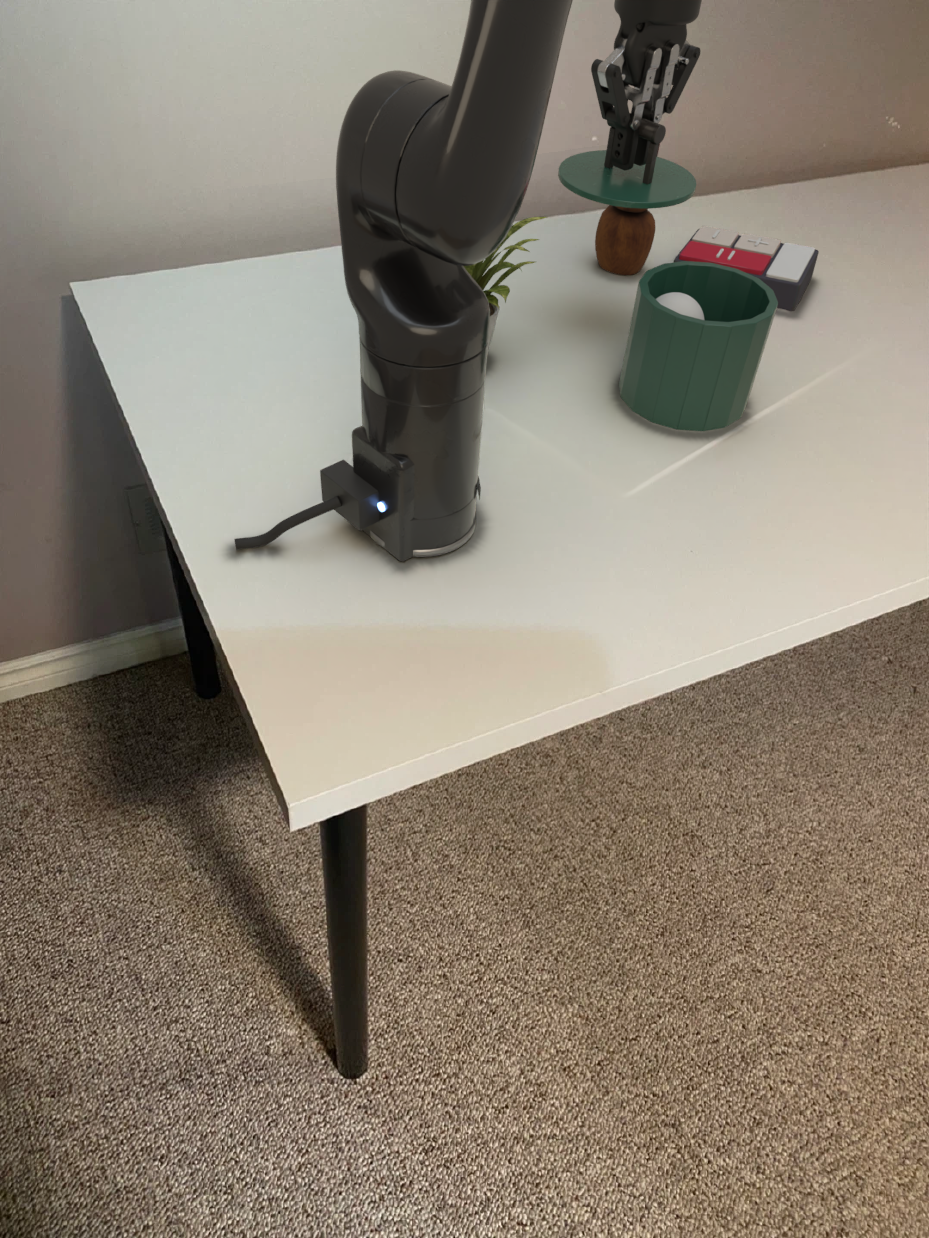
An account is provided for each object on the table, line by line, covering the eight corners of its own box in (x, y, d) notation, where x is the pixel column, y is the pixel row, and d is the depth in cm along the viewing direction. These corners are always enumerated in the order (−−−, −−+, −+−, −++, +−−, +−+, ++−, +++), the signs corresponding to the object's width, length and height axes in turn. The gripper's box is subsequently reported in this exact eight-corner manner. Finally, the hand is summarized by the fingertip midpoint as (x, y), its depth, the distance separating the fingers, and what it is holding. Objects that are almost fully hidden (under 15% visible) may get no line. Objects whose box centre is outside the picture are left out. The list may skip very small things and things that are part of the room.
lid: (633, 227, 86) (647, 152, 81) (528, 180, 92) (536, 109, 88) (721, 194, 92) (738, 124, 88) (618, 153, 99) (629, 85, 94)
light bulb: (706, 403, 90) (703, 305, 84) (645, 408, 92) (637, 312, 85) (706, 374, 94) (703, 278, 88) (648, 379, 96) (641, 285, 89)
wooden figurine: (653, 270, 114) (680, 140, 103) (633, 287, 110) (659, 154, 99) (604, 255, 116) (625, 126, 105) (583, 271, 112) (603, 140, 102)
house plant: (568, 366, 97) (591, 208, 85) (479, 417, 89) (491, 251, 78) (468, 316, 103) (477, 163, 91) (378, 360, 96) (375, 199, 84)
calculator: (699, 221, 116) (821, 243, 111) (693, 255, 119) (812, 278, 114) (673, 253, 109) (802, 279, 104) (668, 289, 112) (792, 315, 107)
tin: (692, 451, 87) (722, 340, 79) (593, 393, 93) (611, 285, 85) (768, 405, 93) (804, 298, 85) (671, 354, 100) (695, 249, 91)
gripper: (649, -31, 73) (612, 193, 86) (749, -47, 80) (701, 163, 92) (579, -50, 77) (553, 168, 89) (681, -64, 84) (644, 140, 96)
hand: (629, 164), depth 91 cm, fingers closed on lid
